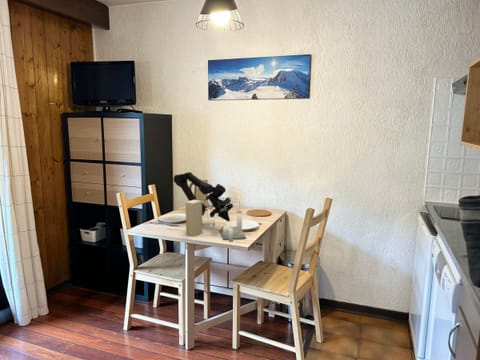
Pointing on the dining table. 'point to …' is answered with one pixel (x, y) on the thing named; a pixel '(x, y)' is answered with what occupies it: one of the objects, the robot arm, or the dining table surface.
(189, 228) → the toy refrigerator
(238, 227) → the fence post
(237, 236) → the board
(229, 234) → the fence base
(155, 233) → the dining table surface
